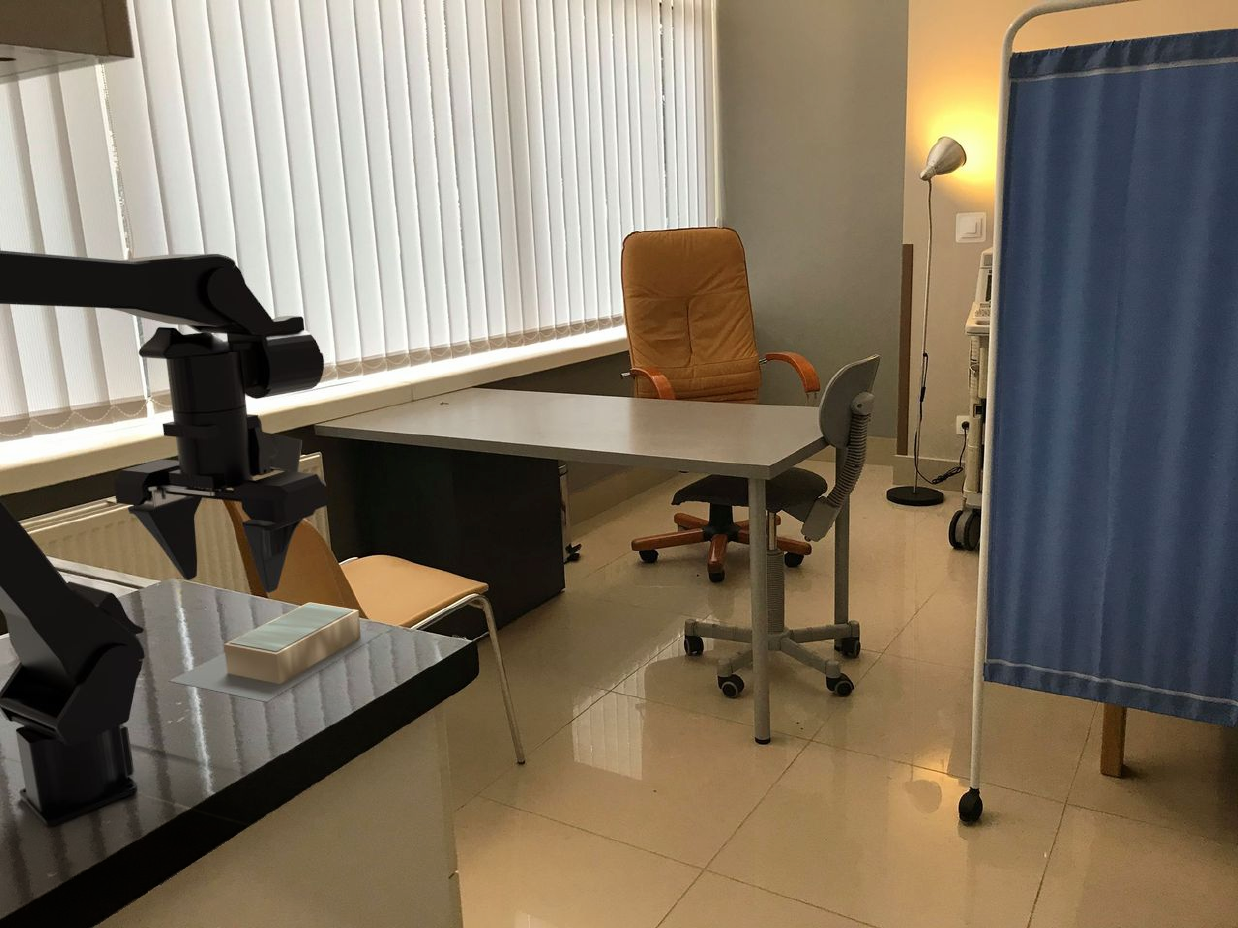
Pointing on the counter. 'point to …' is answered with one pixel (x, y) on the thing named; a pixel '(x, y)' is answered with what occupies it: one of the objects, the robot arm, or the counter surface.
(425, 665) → the counter surface
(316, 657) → the tile
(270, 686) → the mat
